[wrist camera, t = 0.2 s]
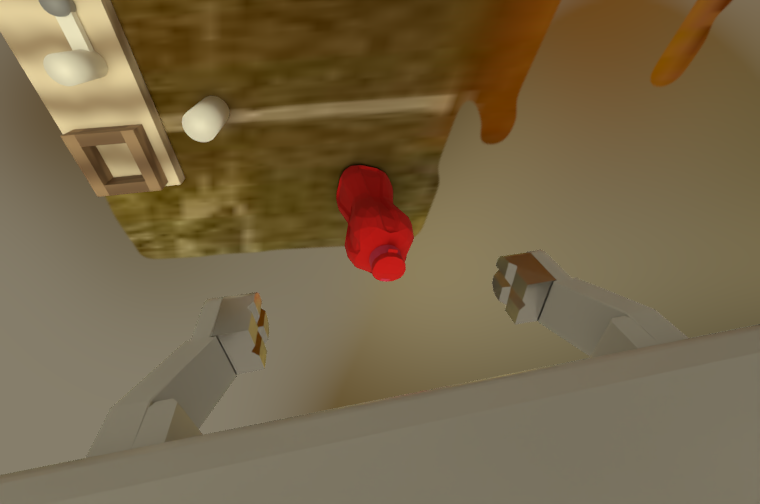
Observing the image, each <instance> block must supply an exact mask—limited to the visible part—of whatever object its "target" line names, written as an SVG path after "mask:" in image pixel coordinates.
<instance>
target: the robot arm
mask: <svg viewBox="0 0 760 504" xmlns="http://www.w3.org/2000/svg"><path fill="white" fill-rule="evenodd" d="M496 266H497V268H498V269H499V270H498V271H497V272H496V274H495V275H494V276H493V282H492V284H493V291H494V293H495V296H496V297H497V299H498V300H499V301H500V302H502V303H504V304H506V308H505V311H506V312H507V314H508V315H509V316H510V318H511V319H512V321H513V322H514V323H515V324H521V323H527V322H534V321H538V322H539V323H540V324H542V325H543V326H545V327H546V328H548V329H549V330H551V331H552V332H554V333H556V334H557V335H559V336H560V337H562V338H563V339H565V340H566V341H568V342H569V343H571V344H572V345H574V346H575V347H577V348H578V349H580V350H581V351H583V352H584V353H586V354H587V355H589V356H590V357H589V358H587V359H582V360H577V361H572V362H567V363H562V364H557V365H551V366H546V367H542V368H537V369H532V370H526V371H521V372H516V373H512V374H506V375H502V376H496V377H492V378H486V379H482V380H477V381H472V382H467V383H462V384H457V385H451V386H446V387H442V388H436V389H431V390H426V391H421V392H416V393H411V394H406V395H401V396H396V397H391V398H386V399H380V400H375V401H371V402H365V403H361V404H355V405H350V406H345V407H340V408H335V409H330V410H325V411H320V412H316V413H310V414H305V415H300V416H295V417H290V418H285V419H280V420H275V421H270V422H265V423H260V424H254V425H249V426H244V427H239V428H234V429H229V430H225V431H219V432H214V433H210V434H205V435H203V434H202V433H201V432H200V430H199V428H200V427H201V425H202V424H203V423H204V421H205V420H206V418H207V417H208V416H209V414H210V413H211V411H212V410H213V409H214V407H215V406H216V404H217V403H218V402H219V400H220V399H221V398H222V396H223V395H224V393H225V392H226V391H227V389H228V388H229V386H230V385H231V384H232V382H233V381H234V379H235V378H236V377H237V376H236V375H237V374H242V373H247V372H252V371H257V370H262V369H265V363H266V354H267V350H266V347H265V342H267V340H268V338H269V323H268V318H267V314H266V311H265V310H263V309H261V304H262V301H261V298H260V295H259V294H258V293H249V294H241V295H233V296H225V297H219V298H212V299H207V300H206V301H205V302H204V305H203V307H202V310H201V313H200V316H199V319H198V322H197V324H196V327H195V330H194V332H193V335H192V338H191V340H190V341H185V342H184V343H183V344H182V345H181V346H180V347H179V348H177V349H176V350H175V351H174V352H173V353H172V354H171V355H170V356H169V357H167V358H166V359H165V360H164V361H163V362H162V363H161V364H159V366H157V367H156V368H155V369H154V370H153V371H152V372H151V373H149V374H148V375H147V376H146V377H145V378H144V379H143V380H142V381H141V382H139V383H138V384H137V385H136V386H135V387H134V388H133V389H132V390H130V391H129V392H128V393H127V394H126V395H125V396H124V397H123V398H122V399H121V400H119V401H118V402H117V403H116V404H115V405H114V406H113V407H111V408H110V410H109V412H108V414H107V416H106V419H105V420H104V423H103V425H102V426H101V428H100V430H99V432H98V434H97V436H96V438H95V440H94V442H93V445H92V446H91V448H90V450H89V452H88V454H87V456H86V458H83V459H78V460H73V461H68V462H63V463H58V464H53V465H48V466H43V467H38V468H33V469H28V470H23V471H18V472H13V473H8V474H3V475H0V504H760V324H758V325H753V326H748V327H743V328H738V329H733V330H728V331H723V332H718V333H713V334H708V335H703V336H698V337H693V338H688V337H687V336H686V335H684V334H683V333H682V332H681V331H680V330H678V329H677V328H676V327H675V326H674V325H672V324H671V323H670V322H669V321H668V320H667V319H665V318H664V317H663V316H662V315H661V314H659V313H658V312H657V311H656V310H655V309H652V308H650V307H647V306H645V305H642V304H640V303H637V302H635V301H633V300H630V299H628V298H625V297H623V296H620V295H618V294H615V293H613V292H610V291H608V290H605V289H603V288H600V287H598V286H595V285H593V284H591V283H588V282H586V281H583V280H581V279H578V278H571V277H570V276H569V275H568V274H567V273H566V272H565V271H564V270H563V269H562V268H561V267H560V266H559V265H558V264H557V263H556V262H555V261H554V260H553V259H552V258H551V257H550V256H549V255H548V254H547V253H546V252H545V251H543V250H536V251H530V252H526V253H519V254H512V255H506V256H500V257H499V258H498V260H497V263H496Z"/></svg>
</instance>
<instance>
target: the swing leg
mask: <svg viewBox="0 0 760 504" xmlns="http://www.w3.org/2000/svg"><path fill="white" fill-rule="evenodd" d="M39 3H40V5H41V6H42V7H43V9H44V10H45V11H46V12H48V13H49V14H51V15H53V16H55V17H56V19H57V21H58V23H59V25H60V27H61V29H62V31H63V33H64V35H65V37H66V38H67V40H68V42H69V44H70V46H71V48H72V51H65V52H59V53H52V54H48V55H46V56H45V58H44V60H43V65H44V69H45V71H46V72H47V74H48V75H49V76H50V77H51V78H52V79H53V80H54V81H56V82H57V83H59V84H61V85H64V86H75V85H78V84H81V83H85V82H88V81H92V80H95V79H98V78H102V77H104V76H105V75H106V74H107V71H108V67H107V64H106V62H105V60H104V59H103V57H102V56H101V55H100V54H98V53H97V52H95V51H94V49H93V47H92V45H91V43H90V41H89V39H88V37H87V35H86V33H85V31H84V28H83V26H82V24H81V22H80V20H79V18H78V16H77V14H76V6H75V4H74V2H73V0H39Z"/></svg>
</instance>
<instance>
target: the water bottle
mask: <svg viewBox="0 0 760 504" xmlns="http://www.w3.org/2000/svg"><path fill="white" fill-rule="evenodd" d="M336 199H337V204H338V208H339V211H340V212H341V214H342V215H343V216H344V218H345V219H346V221H347V222H348V229H347V234H346V240H345V249H346V252H347V256H348V258H349V259H350V261H351V262H352V263H353V264H354V266H355V267H357V268H359V269H362V270H365V271H368V272H370V273H372V274H373V276H374V277H375V278H376V279H377V280H380V281H394V280H396V279H399V278H400V277H401V276H402V275H403V274H404V272H405V260H406V255H407V253H408V251H409V248H410V246H411V244H412V242H413V239H414V236H413V230H412V224H411V222H410V220H409V217H408V216H406V215H405V214H404V213H403V212H402V211H401V210H399V209H398V208H397V207H396V206H395V205H394V204H393V189H392V185H391V182H390V180H389V178H388V176H387V175H386V174H385V173H384V172H383V171H381V170H379V169H377V168H373V167H368V166H364V165H354V166H350V167H348V168H347V169H345V170H344V172H343V174H342V175H341V177H340V180H339V185H338V190H337V197H336Z"/></svg>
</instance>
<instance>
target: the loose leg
mask: <svg viewBox="0 0 760 504" xmlns="http://www.w3.org/2000/svg"><path fill="white" fill-rule="evenodd" d="M229 115H230V111H229V107H228V105H227V104H226V103H225V102H224V101H223V100H222V99H221V98H219V97H217V96H207V97H205V98H204V99H203V100H201V101H200V102H199V103H198V104H196V105H195V106H194V107H193V108H191V109H190V110H189V111H188V112H186V113H185V114H184V116H183V118H182V126H183V129H184V131H185V132H186V133H187V135H188V136H189V137H191V138H192V139H194V140H196V141H199V142H208V141H211V140H212V139H213V138H214V137H215V136H216V135H217V133H218V132H219V131H220V129H221V128H222V127H223V125H224V124H225V123H226V121H227V120H228V118H229Z"/></svg>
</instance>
